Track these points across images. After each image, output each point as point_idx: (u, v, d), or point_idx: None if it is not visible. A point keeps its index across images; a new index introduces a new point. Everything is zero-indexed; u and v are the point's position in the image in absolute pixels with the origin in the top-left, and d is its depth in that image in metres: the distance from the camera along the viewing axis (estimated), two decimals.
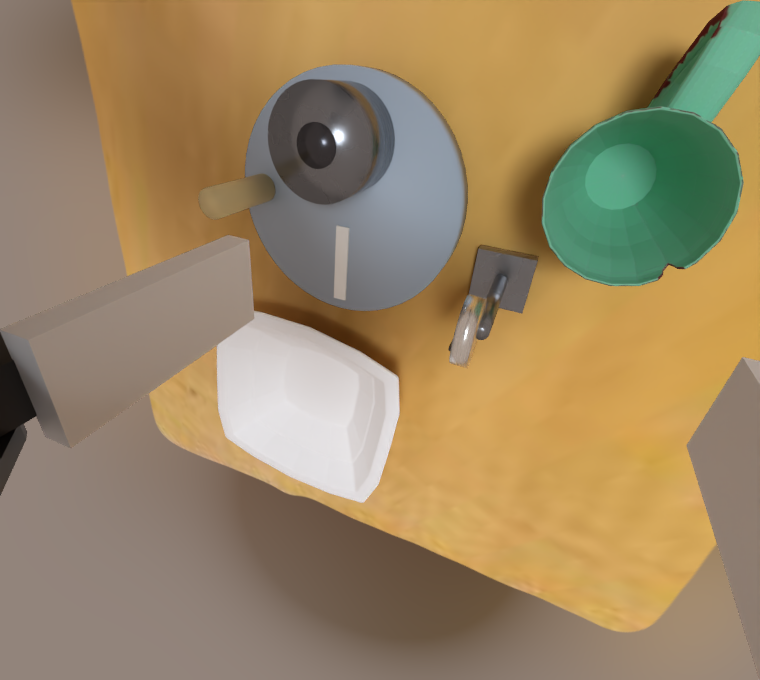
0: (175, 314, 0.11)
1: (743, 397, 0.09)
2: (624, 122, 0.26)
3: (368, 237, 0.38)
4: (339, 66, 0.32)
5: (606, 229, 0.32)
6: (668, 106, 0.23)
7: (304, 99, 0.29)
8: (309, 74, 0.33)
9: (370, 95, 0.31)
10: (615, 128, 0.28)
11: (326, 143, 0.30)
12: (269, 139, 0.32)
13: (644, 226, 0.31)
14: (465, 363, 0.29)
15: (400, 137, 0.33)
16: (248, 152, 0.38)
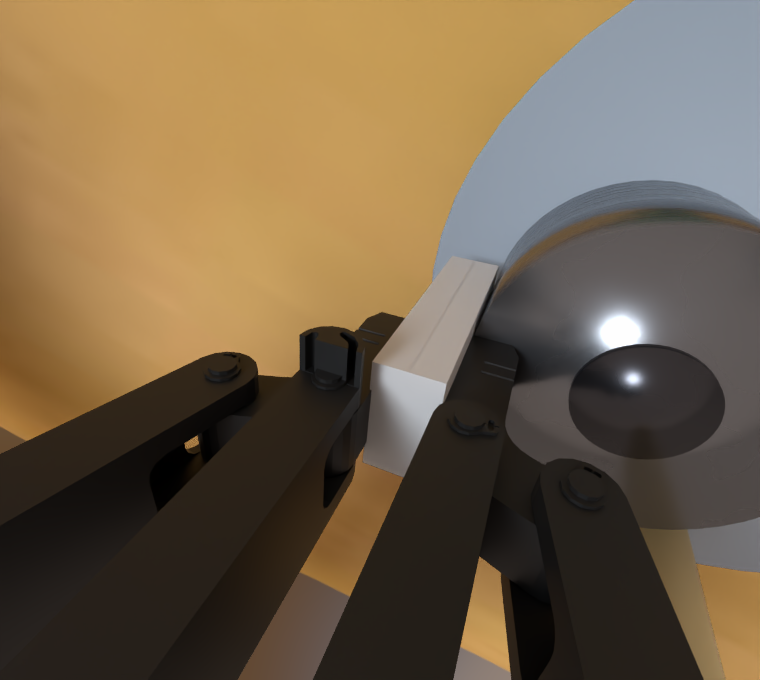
0: None
1: None
2: None
3: None
4: None
5: None
6: None
7: None
8: None
9: (533, 233, 0.12)
10: None
11: (643, 373, 0.09)
12: None
13: None
14: None
15: (604, 155, 0.12)
16: None
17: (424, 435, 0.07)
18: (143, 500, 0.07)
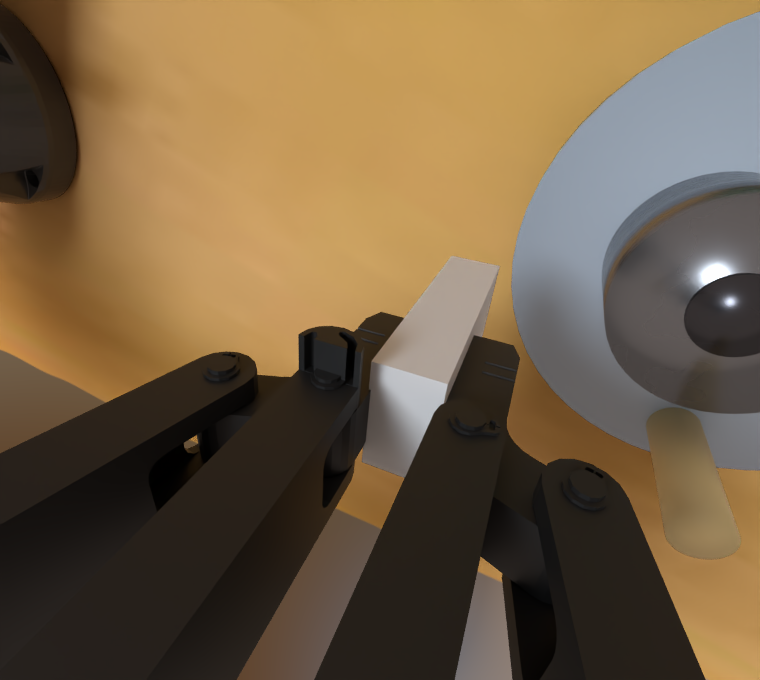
0: None
1: None
2: None
3: None
4: (516, 253, 0.22)
5: None
6: None
7: (637, 320, 0.16)
8: (518, 302, 0.23)
9: (646, 208, 0.17)
10: None
11: (742, 292, 0.14)
12: (689, 405, 0.17)
13: None
14: None
15: (652, 151, 0.18)
16: (606, 429, 0.24)
17: (425, 435, 0.07)
18: (142, 500, 0.07)
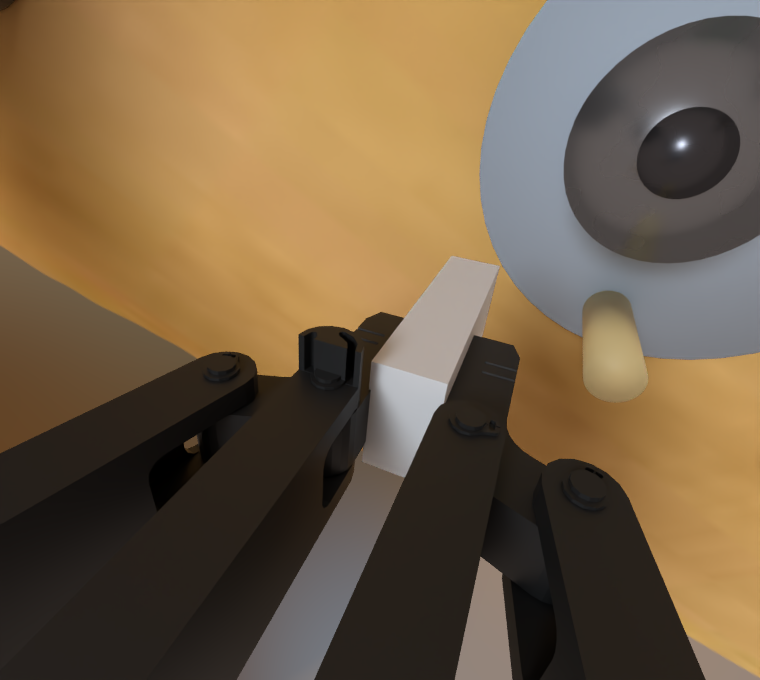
0: None
1: None
2: None
3: None
4: (491, 110, 0.21)
5: None
6: None
7: (594, 159, 0.17)
8: (485, 166, 0.23)
9: None
10: None
11: (693, 126, 0.15)
12: (628, 254, 0.18)
13: None
14: None
15: (638, 4, 0.18)
16: (545, 311, 0.25)
17: (425, 435, 0.07)
18: (142, 500, 0.07)
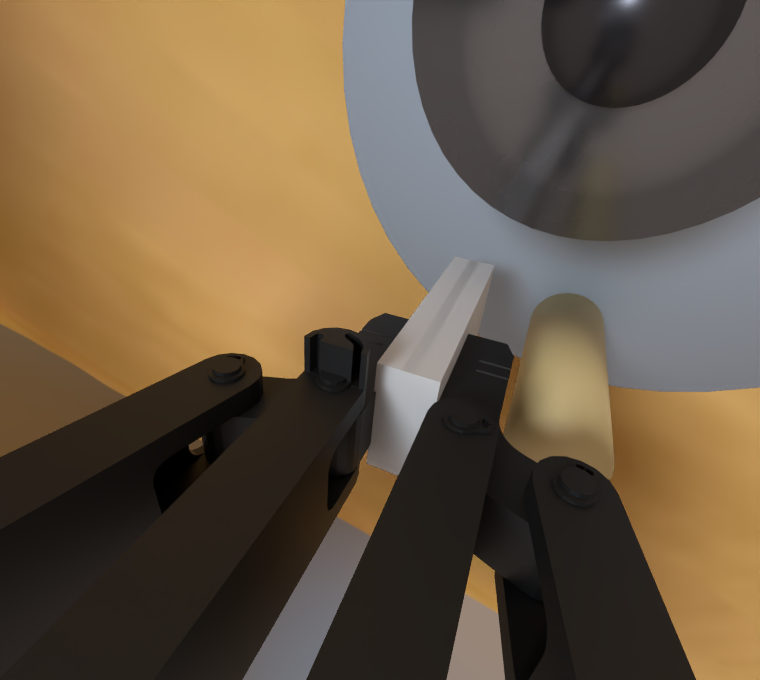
0: None
1: None
2: None
3: None
4: (346, 28, 0.14)
5: None
6: None
7: (465, 56, 0.09)
8: (355, 120, 0.15)
9: None
10: None
11: None
12: (562, 230, 0.09)
13: None
14: None
15: None
16: (479, 330, 0.17)
17: (419, 434, 0.07)
18: (147, 502, 0.07)
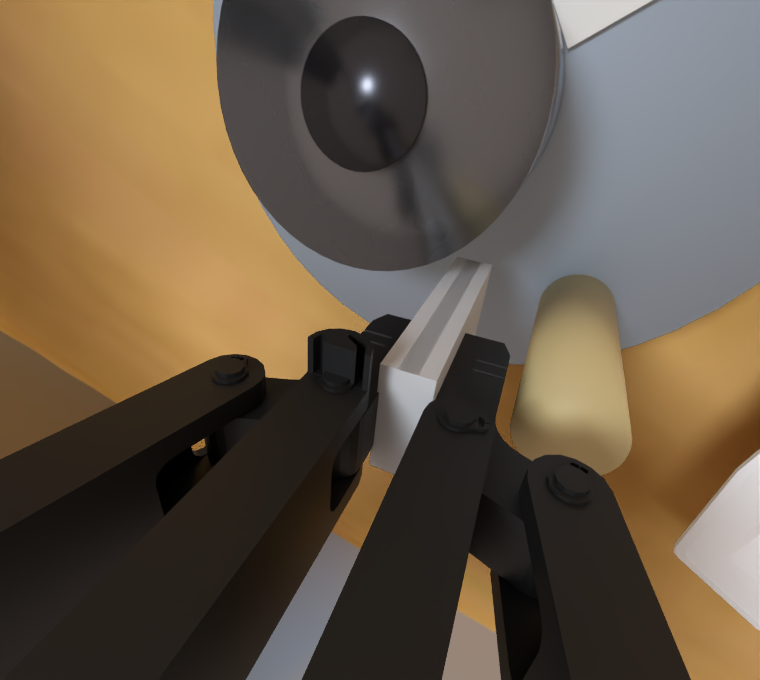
0: None
1: None
2: None
3: None
4: (275, 225, 0.18)
5: None
6: None
7: (302, 200, 0.11)
8: (316, 273, 0.19)
9: None
10: None
11: (330, 69, 0.10)
12: (445, 250, 0.11)
13: None
14: None
15: None
16: (512, 360, 0.17)
17: (415, 432, 0.07)
18: (149, 503, 0.07)
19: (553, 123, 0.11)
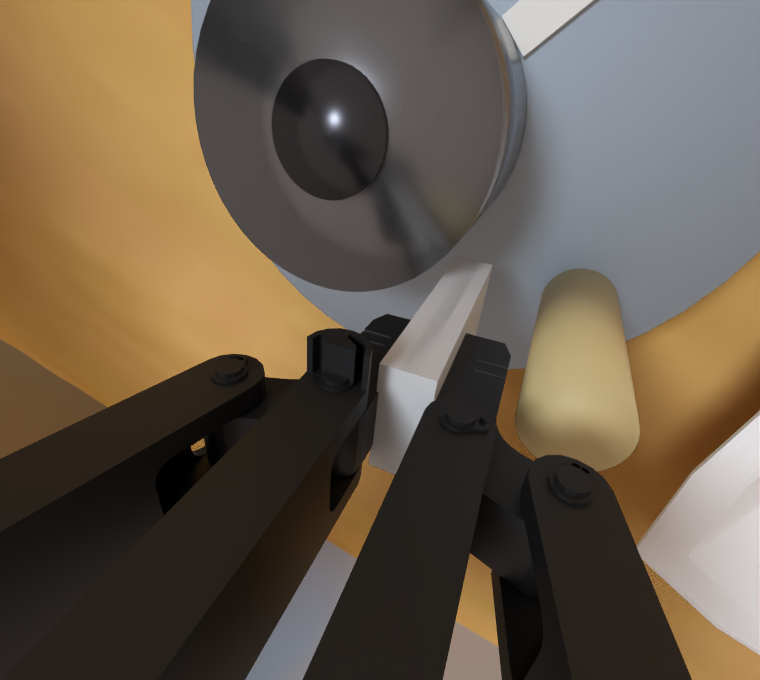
0: None
1: None
2: None
3: None
4: (277, 265, 0.19)
5: None
6: None
7: (290, 235, 0.12)
8: (321, 305, 0.19)
9: None
10: None
11: (295, 112, 0.10)
12: (429, 261, 0.11)
13: None
14: None
15: None
16: (524, 364, 0.17)
17: (416, 433, 0.07)
18: (148, 503, 0.07)
19: (518, 126, 0.12)
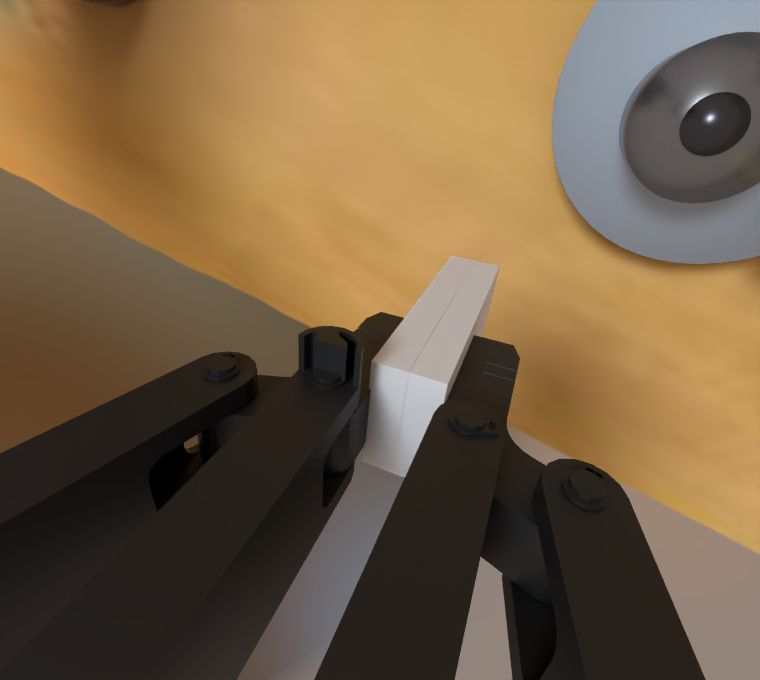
0: None
1: None
2: None
3: None
4: (577, 207, 0.31)
5: None
6: None
7: (667, 175, 0.24)
8: (603, 231, 0.31)
9: (621, 128, 0.27)
10: None
11: (700, 115, 0.23)
12: (751, 184, 0.23)
13: None
14: None
15: (600, 101, 0.28)
16: (743, 257, 0.29)
17: (425, 435, 0.07)
18: (142, 500, 0.07)
19: None
